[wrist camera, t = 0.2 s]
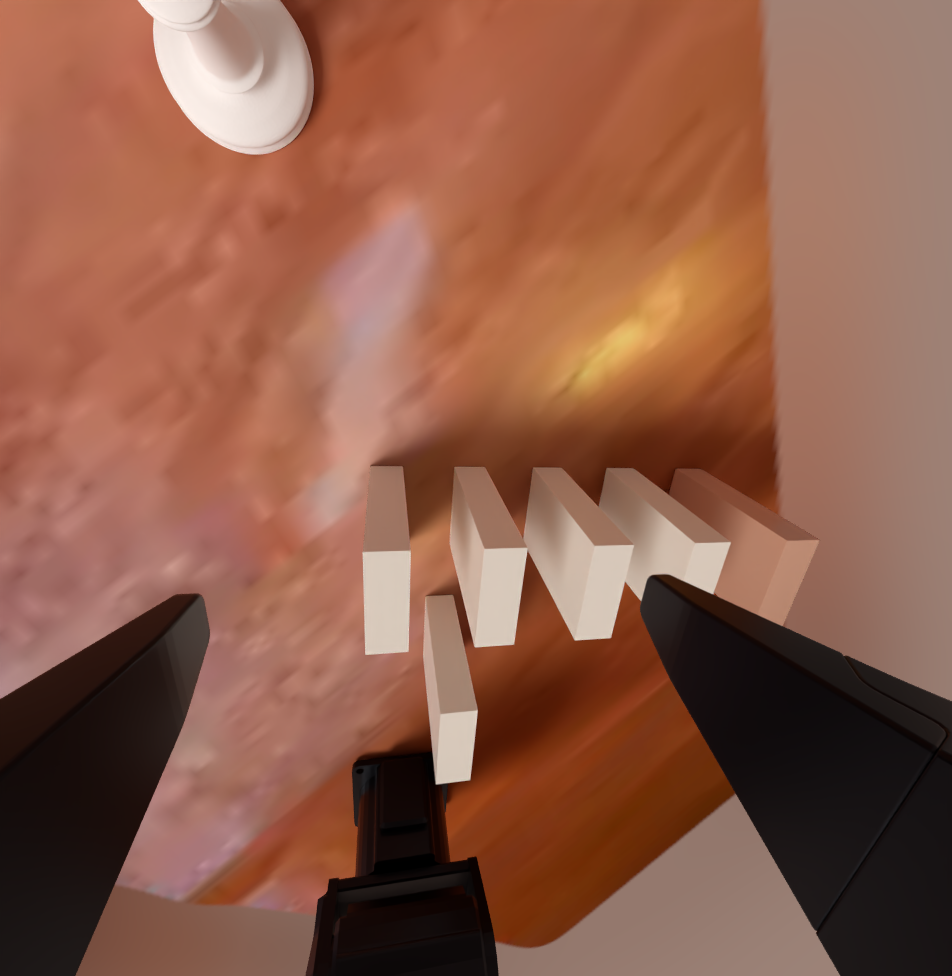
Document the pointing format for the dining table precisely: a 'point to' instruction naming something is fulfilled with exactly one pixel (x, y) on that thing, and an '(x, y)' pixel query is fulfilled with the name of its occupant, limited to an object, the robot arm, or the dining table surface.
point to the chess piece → (235, 69)
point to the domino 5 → (661, 533)
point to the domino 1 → (386, 563)
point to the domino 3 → (486, 557)
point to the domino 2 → (448, 691)
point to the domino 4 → (576, 553)
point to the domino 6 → (749, 544)
